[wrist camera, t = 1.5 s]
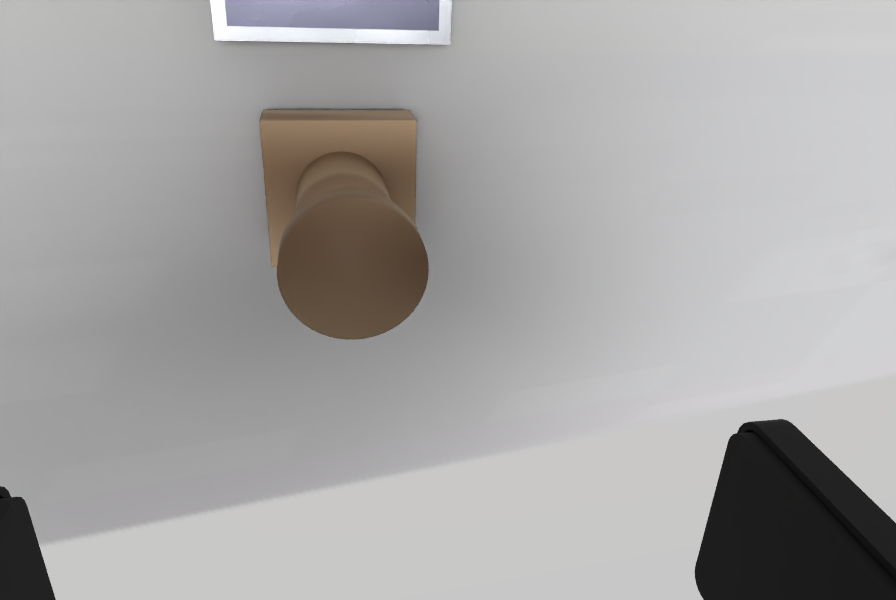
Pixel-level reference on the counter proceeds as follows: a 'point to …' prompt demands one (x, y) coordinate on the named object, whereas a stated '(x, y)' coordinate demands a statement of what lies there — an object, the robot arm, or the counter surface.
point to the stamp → (344, 217)
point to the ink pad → (333, 21)
